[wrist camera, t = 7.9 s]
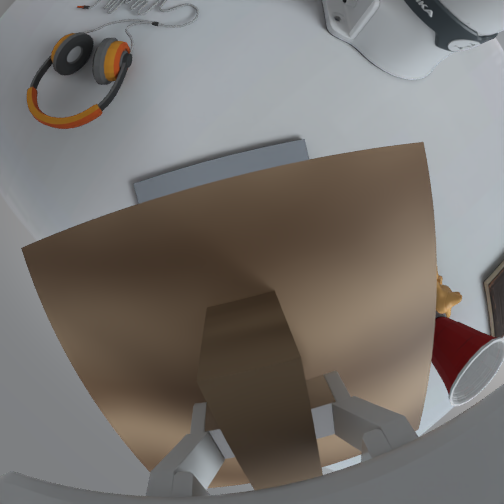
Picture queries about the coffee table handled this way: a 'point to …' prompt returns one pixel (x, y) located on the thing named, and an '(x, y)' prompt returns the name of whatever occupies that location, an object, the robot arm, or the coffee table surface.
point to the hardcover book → (496, 300)
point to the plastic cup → (465, 358)
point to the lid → (252, 306)
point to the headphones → (104, 65)
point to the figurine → (445, 298)
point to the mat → (221, 169)
